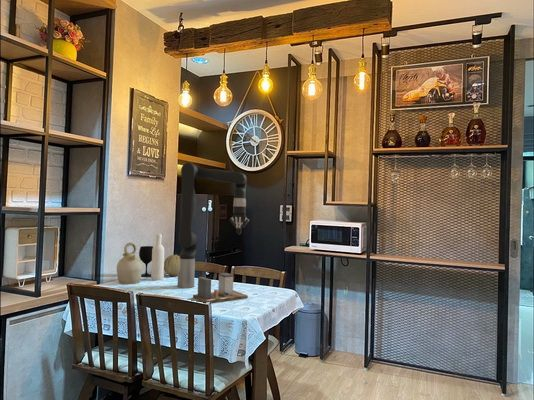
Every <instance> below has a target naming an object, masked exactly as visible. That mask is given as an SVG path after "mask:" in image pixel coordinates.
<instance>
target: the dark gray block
mask: <svg viewBox="0 0 534 400" xmlns="http://www.w3.org/2000/svg"><path fill="white" fill-rule="evenodd" d="M211 293H212V279H210V278H207V277H205V276H199V277H198V278H197V294H198V296H199V297H201V298H203V299H211Z"/></svg>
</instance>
